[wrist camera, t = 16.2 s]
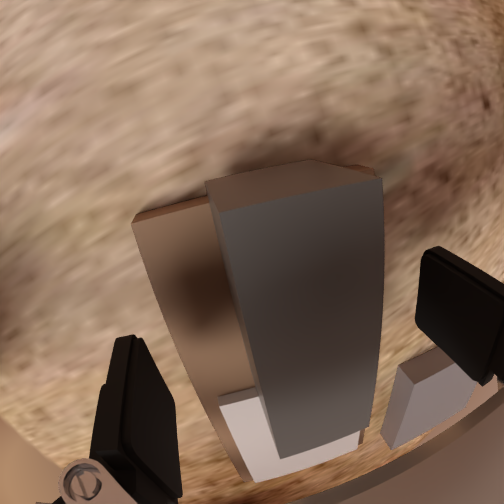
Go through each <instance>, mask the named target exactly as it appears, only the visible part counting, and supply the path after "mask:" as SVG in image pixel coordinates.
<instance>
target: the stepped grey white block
mask: <svg viewBox="0 0 504 504" xmlns="http://www.w3.org/2000/svg"><path fill="white" fill-rule="evenodd" d="M205 186H206V190H207V195H208V199H209V204H210V208H211V212H212V217H213V221H214V225H215V230H216V234H217V238H218V242H219V246H220V251H221V255H222V259H223V263H224V267H225V271H226V275H227V279H228V284H229V288H230V292H231V296H232V300H233V304H234V307H235V311H236V315H237V319H238V323H239V327H240V331H241V335H242V339H243V342H244V346H245V350H246V354H247V357H248V361H249V365H250V369H251V372H252V376H253V380H254V383H255V387H254V388H250V389H246V390H243V391H239V392H235V393H231V394H227V395H223V396H219V397H217V398H218V403H219V407H220V410H221V412H222V414H223V416H224V419H225V421H226V423H227V425H228V428H229V430H230V432H231V434H232V436H233V439H234V441H235V443H236V445H237V447H238V449H239V451H240V454H241V456H242V458H243V460H244V462H245V464H246V466H247V468H248V470H249V472H250V474H251V476H252V478H253V480H254V482H255V483H258V482H262V481H265V480H269V479H273V478H277V477H280V476H283V475H287V474H290V473H293V472H297V471H300V470H303V469H306V468H309V467H312V466H315V465H318V464H320V463H323V462H326V461H328V460H331V459H334V458H336V457H339V456H341V455H344V454H346V453H349V452H351V451H354V450H356V449H357V447H358V441H359V435H360V430H362V429H365V428H367V427H369V422H370V417H371V411H372V405H373V398H374V391H375V384H376V377H377V369H378V360H379V350H380V340H381V328H382V313H383V294H384V206H383V187H382V178H380V177H376V176H373V175H369V174H366V173H362V172H359V171H355V170H351V169H348V168H344V167H340V166H336V165H332V164H328V163H324V162H320V161H316V160H312V159H310V160H305V161H299V162H294V163H288V164H283V165H278V166H272V167H267V168H262V169H258V170H253V171H248V172H243V173H239V174H234V175H230V176H225V177H221V178H216V179H212V180H208V181H205Z"/></svg>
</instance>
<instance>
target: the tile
mask: <svg viewBox="0 0 504 504" xmlns="http://www.w3.org/2000/svg"><path fill="white" fill-rule="evenodd" d="M476 384H477V381H473V380H472V379H471V378H470V377H469V376H468V375H467V374H466V373H465V372H464V371H463V370H462V369H461V368H460V367H459V366H458V365H457V364H456V363H455V362H454V361H453V360H452V359H451V358H450V357H449V356H448V355H447V354H446V353H445V352H444V351H443V350H441V349H440V348H439V347H436V348H434V349H432V350H430V351H428V352H426V353H424V354H422V355H420V356H417V357H415V358H413V359H411V360H409V361H407V362H405V363H402V364H400V365H398V368H397V372H396V377H395V381H394V385H393V389H392V393H391V397H390V401H389V404H388V408H387V412H386V415H385V419H384V422H383V425H382V429H381V432H380V434H381V435H382V437H383V438H384V440H385V442H386V443H387V445H388V446H389V448H390V449H391V450H393V449H395V448H397V447H399V446H401V445H403V444H404V443H406V442H408V441H410V440H412V439H414V438H416V437H418V436H419V435H421V434H423V433H425V432H427V431H428V430H430V429H432V428H433V427H435V426H437V425H438V424H440V423H442V422H443V421H445V420H447V419H448V418H450V417H451V416H453V415H455V414H456V413H458V412H459V411H461V410H462V409H463V408H465V407H466V405H467V403H468V401H469V399H470V397H471V395H472V392H473V391H474V388H475V386H476Z"/></svg>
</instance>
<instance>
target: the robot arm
mask: <svg viewBox="0 0 504 504" xmlns="http://www.w3.org/2000/svg"><path fill="white" fill-rule="evenodd" d="M415 322H416V325H417V327H418V328H419V329H420V330H421V331H423V332H424V333H425V334H426V335H427V336H428V337H429V338H430V339H431V340H432V341H433V342H434V343H435V344H436V345H437V346H438V347H439V348H440V349H441V350H443V351H444V352H445V353H446V354H447V355H448V356H449V357H450V358H451V359H452V360H453V361H454V362H455V363H456V364H457V365H458V366H459V367H460V368H461V369H462V370H463V371H464V372H465V373H466V374H467V375H468V376H469V377H470V378H471V379H472V380H473V381H477V382H478V383H479V384H480V385H481V386H484V385H485V384H487V383H488V382H489V381H490V380H491V379H492V378H493V376H494V374H495V375H496V376H497V383H498V392H497V393H496V394H495V395H493V396H492V397H491V398H489V399H488V400H487V401H486V402H485V403H483V404H482V405H480V406H479V407H478V408H476V409H475V410H474V411H472V412H471V413H470V414H468V415H467V416H466V417H464V418H463V419H461V420H460V421H458V422H457V423H456V424H454V425H453V426H451V427H450V428H448V429H447V430H445V431H444V432H442V433H440V434H439V435H437V436H436V437H434V438H433V439H431V440H429V441H428V442H426V443H424V444H423V445H421V446H419V447H417V448H416V449H414V450H412V451H410V452H408V453H407V454H405V455H403V456H401V457H399V458H397V459H395V460H393V461H392V462H390V463H388V464H386V465H384V466H382V467H379V468H377V469H375V470H373V471H371V472H369V473H367V474H365V475H362V476H360V477H358V478H356V479H353V480H351V481H348V482H346V483H344V484H341V485H339V486H336V487H334V488H331V489H328V490H326V491H323V492H320V493H317V494H314V495H311V496H308V497H305V498H302V499H299V500H296V501H293V502H289V503H286V504H504V284H503V283H501V282H500V281H498V280H497V279H495V278H493V277H492V276H490V275H489V274H487V273H485V272H484V271H482V270H480V269H479V268H477V267H475V266H474V265H472V264H470V263H469V262H467V261H465V260H464V259H462V258H460V257H458V256H457V255H455V254H453V253H451V252H450V251H448V250H446V249H444V248H442V247H440V246H436V247H433V248H431V249H428V250H426V251H425V252H424V254H423V256H422V258H421V264H420V277H419V288H418V297H417V305H416V313H415ZM58 484H59V492H60V494H61V496H60V497H59V498H58V499H57V500H56V501H54V502H53V503H52V504H178V498H181V497H182V495H183V492H182V483H181V473H180V463H179V452H178V440H177V425H176V409H175V402H174V399H173V397H172V395H171V393H170V391H169V389H168V387H167V385H166V384H165V382H164V380H163V378H162V376H161V374H160V372H159V370H158V368H157V366H156V364H155V362H154V360H153V358H152V356H151V354H150V352H149V350H148V348H147V346H146V344H145V342H144V340H143V339H142V338H137V337H136V336H135V335H134V334H133V335H128V336H123V337H119V338H116V340H115V343H114V347H113V352H112V356H111V361H110V365H109V370H108V375H107V380H106V384H104V385H103V386H102V387H101V390H100V394H99V399H98V405H97V410H96V416H95V421H94V428H93V434H92V440H91V447H90V455H89V459H86V458H82V459H78V460H75V461H73V462H71V463H70V464H68V465H67V466H66V467H65V468H64V470H63V471H62V473H61V475H60V478H59V482H58Z"/></svg>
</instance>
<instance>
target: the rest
mask: <svg viewBox="0 0 504 504" xmlns="http://www.w3.org/2000/svg"><path fill="white" fill-rule="evenodd" d="M344 168H348V169H351V170H355V171H359V172H362V173H366V174H369V175H373V176H375V174H374V169H373V168H369V167H365V166H361V165H352V166H346V167H344ZM131 226H132V229H133V232H134V235H135V238H136V241H137V244H138V248H139V251H140V254H141V257H142V260H143V262H144V265H145V268H146V271H147V274H148V277H149V280H150V282H151V285H152V288H153V291H154V293H155V296H156V299H157V301H158V304H159V307H160V309H161V312H162V314H163V317H164V319H165V322H166V324H167V327H168V329H169V332H170V334H171V337H172V339H173V341H174V344H175V346H176V349H177V351H178V353H179V356H180V358H181V360H182V362H183V365H184V367H185V369H186V371H187V374H188V376H189V378H190V380H191V382H192V385H193V387H194V389H195V391H196V393H197V395H198V397H199V399H200V401H201V404H202V406H203V408H204V410H205V412H206V414H207V416H208V418H209V420H210V422H211V424H212V426H213V427H214V429H215V431H216V433H217V435H218V437H219V439H220V441H221V443H222V445H223V446H224V448H225V450H226V452H227V454H228V456H229V457H230V459H231V461H232V463H233V464H234V466H235V468H236V470H237V471H238V473H239V475H240V477H241V478H242V480H243V482H248V481H252V480H253V478H252V476H251V474H250V472H249V470H248V468H247V466H246V464H245V462H244V460H243V458H242V456H241V454H240V451H239V449H238V447H237V445H236V443H235V441H234V439H233V436H232V434H231V432H230V430H229V428H228V425H227V423H226V421H225V419H224V416H223V414H222V412H221V410H220V407H219V403H218V398H217V397H219V396H223V395H227V394H231V393H235V392H239V391H243V390H246V389H250V388H254V387H255V383H254V380H253V376H252V372H251V369H250V365H249V361H248V357H247V354H246V350H245V346H244V342H243V339H242V335H241V331H240V327H239V323H238V319H237V315H236V311H235V307H234V304H233V300H232V296H231V292H230V288H229V284H228V279H227V275H226V271H225V267H224V263H223V259H222V255H221V251H220V246H219V242H218V238H217V234H216V230H215V225H214V221H213V217H212V212H211V208H210V204H209V199H208V195H207V196H203V197H199V198H195V199H191V200H188V201H184V202H180V203H176V204H172V205H168V206H165V207H161V208H157V209H154V210H150V211H147V212H143V213H139V214H136V216H135V218H134V219H133V221H132V223H131ZM364 431H365V429H362V430H360V435H359V441H358V445H359V444H361V443H362V442H363V437H364Z"/></svg>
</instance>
